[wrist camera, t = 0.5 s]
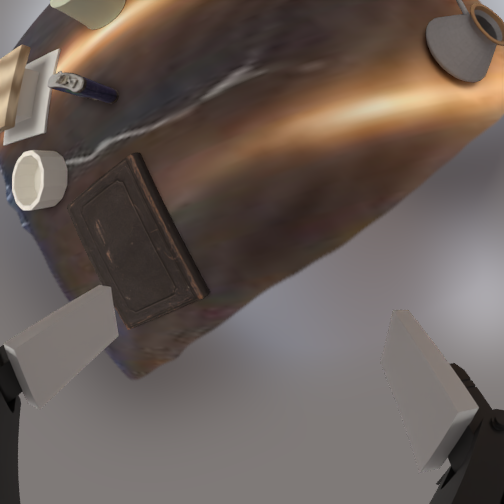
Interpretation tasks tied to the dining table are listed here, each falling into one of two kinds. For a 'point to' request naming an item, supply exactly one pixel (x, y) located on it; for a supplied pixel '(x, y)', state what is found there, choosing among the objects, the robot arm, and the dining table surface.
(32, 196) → the bowl
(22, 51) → the wavy beige panel
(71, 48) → the dining table surface
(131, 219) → the hardcover book
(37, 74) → the stand
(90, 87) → the flask
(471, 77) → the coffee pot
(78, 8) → the can
